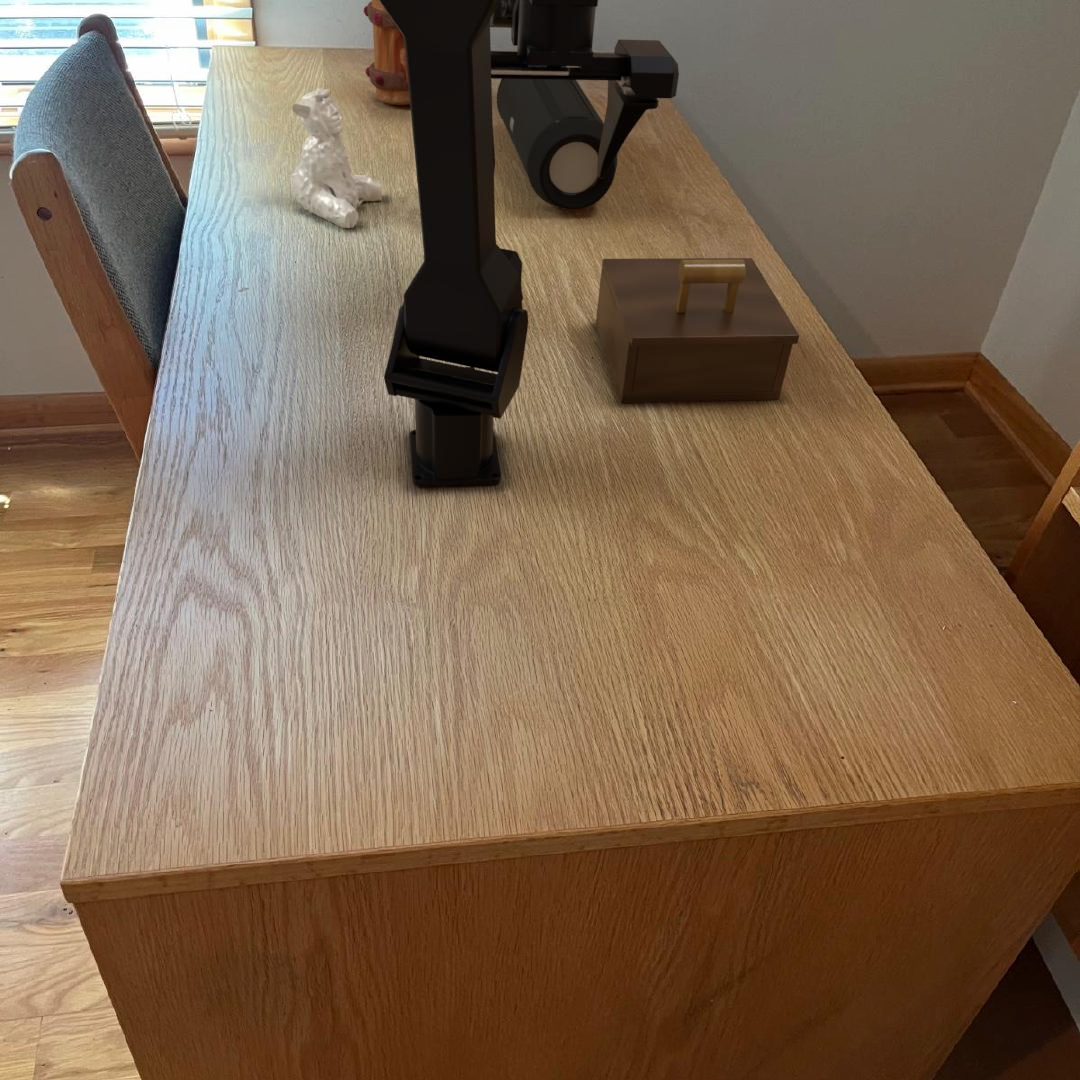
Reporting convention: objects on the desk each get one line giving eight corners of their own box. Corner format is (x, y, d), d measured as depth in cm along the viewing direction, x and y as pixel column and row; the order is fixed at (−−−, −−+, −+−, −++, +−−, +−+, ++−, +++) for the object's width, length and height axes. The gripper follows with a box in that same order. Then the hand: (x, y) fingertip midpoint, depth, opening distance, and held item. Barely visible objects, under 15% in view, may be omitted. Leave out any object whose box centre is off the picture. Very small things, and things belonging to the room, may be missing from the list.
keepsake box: (778, 399, 86) (794, 339, 82) (621, 403, 84) (629, 341, 81) (738, 323, 96) (750, 266, 92) (595, 325, 94) (601, 267, 90)
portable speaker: (492, 132, 128) (494, 47, 122) (569, 131, 130) (575, 47, 124) (529, 220, 110) (534, 125, 103) (618, 217, 112) (628, 124, 105)
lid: (797, 344, 82) (812, 284, 78) (631, 346, 80) (639, 286, 77) (750, 266, 92) (762, 210, 88) (601, 266, 90) (607, 210, 86)
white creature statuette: (351, 232, 105) (344, 112, 97) (274, 218, 106) (260, 99, 99) (386, 197, 112) (382, 83, 104) (314, 184, 113) (303, 70, 105)
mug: (360, 91, 137) (353, -35, 127) (417, 86, 140) (415, -38, 130) (396, 130, 127) (391, -3, 117) (457, 123, 130) (458, -7, 120)
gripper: (657, -56, 82) (633, 141, 92) (423, -64, 79) (425, 140, 89) (694, -21, 74) (664, 191, 84) (435, -29, 71) (436, 191, 81)
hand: (546, 176), depth 85 cm, fingers open, 9 cm apart
